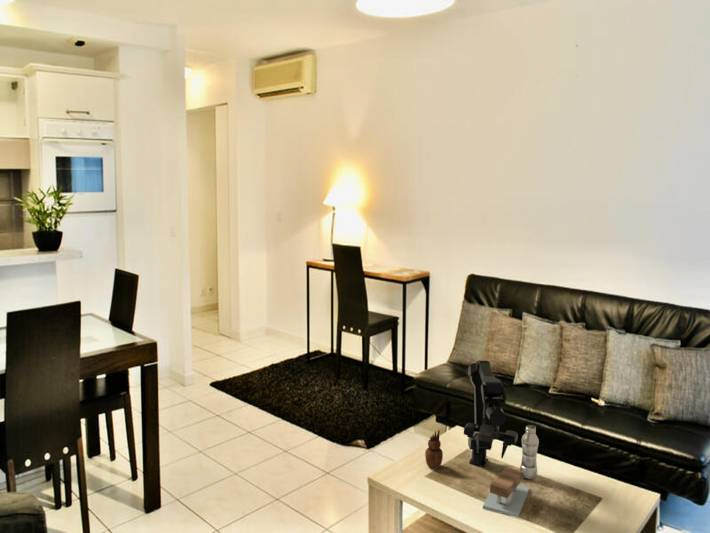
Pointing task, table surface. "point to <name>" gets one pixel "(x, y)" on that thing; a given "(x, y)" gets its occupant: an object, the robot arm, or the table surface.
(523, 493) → the peg stand
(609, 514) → the table surface
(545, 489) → the table surface
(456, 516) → the table surface
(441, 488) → the table surface
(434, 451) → the wooden figurine
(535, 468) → the plastic bottle
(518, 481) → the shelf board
